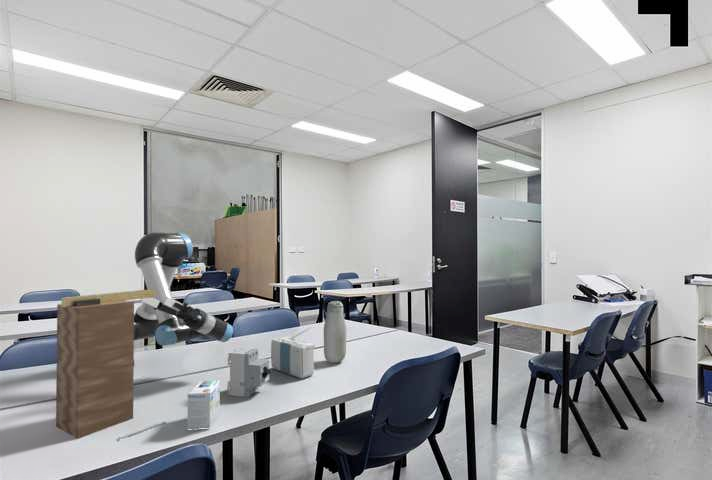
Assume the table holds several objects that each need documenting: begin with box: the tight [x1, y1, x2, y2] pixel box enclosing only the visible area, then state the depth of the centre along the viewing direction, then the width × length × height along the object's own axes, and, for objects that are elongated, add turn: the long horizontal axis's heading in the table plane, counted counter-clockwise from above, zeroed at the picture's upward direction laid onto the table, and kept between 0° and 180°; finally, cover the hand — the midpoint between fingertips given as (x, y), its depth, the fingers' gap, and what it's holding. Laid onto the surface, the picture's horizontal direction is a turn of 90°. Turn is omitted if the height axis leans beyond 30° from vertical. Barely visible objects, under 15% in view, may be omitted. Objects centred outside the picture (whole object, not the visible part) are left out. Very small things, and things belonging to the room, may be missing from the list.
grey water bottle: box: [323, 300, 347, 364], centre depth 176 cm, size 10×10×28 cm
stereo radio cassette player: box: [270, 326, 316, 380], centre depth 162 cm, size 21×8×20 cm, turn 47°
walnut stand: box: [55, 299, 135, 439], centre depth 117 cm, size 14×15×38 cm
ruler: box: [118, 420, 167, 440], centre depth 111 cm, size 12×1×1 cm, turn 142°
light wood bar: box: [60, 289, 155, 307], centre depth 121 cm, size 3×26×2 cm, turn 148°
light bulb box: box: [187, 380, 221, 429], centre depth 116 cm, size 11×7×11 cm, turn 5°
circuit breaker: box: [227, 347, 272, 397], centre depth 140 cm, size 8×14×15 cm, turn 78°
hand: (153, 298), depth 132 cm, fingers open, 13 cm apart
